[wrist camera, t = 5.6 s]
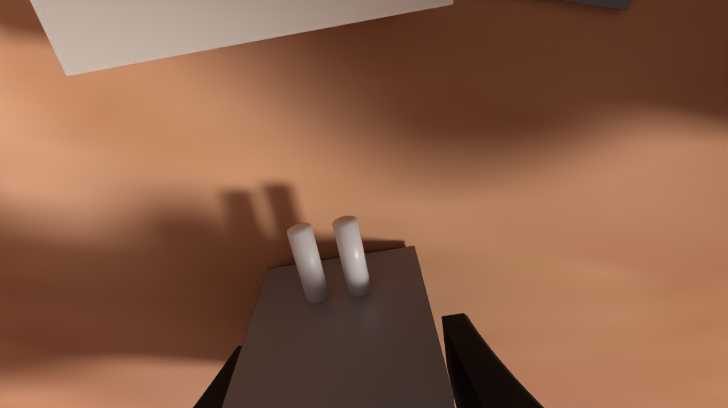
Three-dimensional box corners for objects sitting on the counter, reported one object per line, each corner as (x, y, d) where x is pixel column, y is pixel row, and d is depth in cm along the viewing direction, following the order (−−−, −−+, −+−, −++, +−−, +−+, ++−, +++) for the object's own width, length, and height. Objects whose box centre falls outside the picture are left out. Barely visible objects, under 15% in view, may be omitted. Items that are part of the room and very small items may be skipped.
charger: (247, 209, 11) (174, 349, 6) (406, 183, 11) (444, 310, 6) (302, 371, 14) (277, 547, 9) (428, 354, 13) (466, 525, 9)
